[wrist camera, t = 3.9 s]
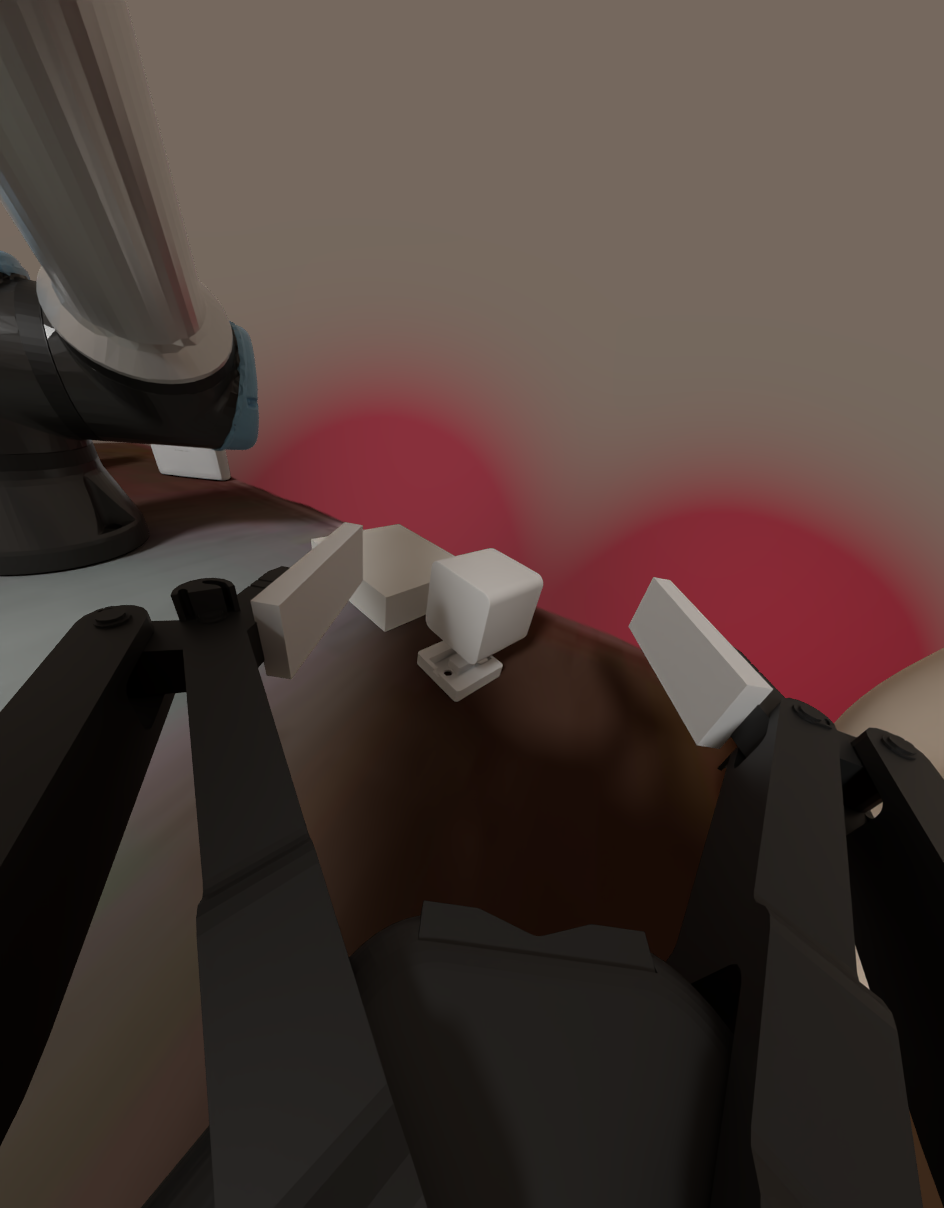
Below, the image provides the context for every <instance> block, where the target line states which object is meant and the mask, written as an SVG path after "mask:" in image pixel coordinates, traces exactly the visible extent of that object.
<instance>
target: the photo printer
mask: <svg viewBox="0 0 944 1208" xmlns="http://www.w3.org/2000/svg"><path fill="white" fill-rule="evenodd" d="M151 447H152V450H153V453H154V456H155V459H156V462H157V465H158V468H159V470H160V472H161V473H162V474H167V475H177V476H186V477H195V478H204V479H214V480H228V479H230V478H231V476H230V470H229V465H228V461H227V456H226V452H225V450H223V451H215V450H212V449H205V448H193V447H182V446H169V445H155V444H151Z"/></svg>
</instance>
